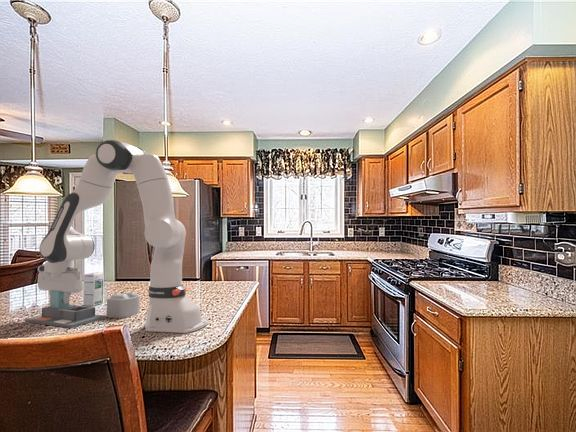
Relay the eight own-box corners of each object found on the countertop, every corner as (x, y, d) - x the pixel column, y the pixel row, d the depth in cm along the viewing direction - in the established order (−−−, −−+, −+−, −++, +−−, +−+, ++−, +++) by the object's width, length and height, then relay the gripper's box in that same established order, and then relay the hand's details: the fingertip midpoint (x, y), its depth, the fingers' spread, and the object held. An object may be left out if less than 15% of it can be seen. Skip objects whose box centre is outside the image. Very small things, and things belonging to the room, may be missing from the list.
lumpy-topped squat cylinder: (102, 316, 136) (103, 295, 137) (125, 309, 149) (125, 289, 149) (125, 318, 134) (125, 296, 134) (146, 310, 146) (146, 290, 147)
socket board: (105, 318, 134) (105, 306, 134) (71, 328, 120) (72, 315, 121) (61, 313, 142) (61, 302, 142) (25, 321, 128) (25, 309, 129)
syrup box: (93, 306, 155) (94, 274, 155) (82, 305, 156) (83, 273, 157) (103, 303, 160) (103, 272, 161) (92, 302, 162) (93, 272, 162)
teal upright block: (69, 309, 135) (69, 289, 135) (58, 312, 131) (58, 291, 131) (60, 309, 137) (61, 288, 137) (49, 311, 132) (50, 290, 133)
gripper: (87, 267, 134) (86, 302, 133) (50, 265, 141) (49, 299, 140) (72, 269, 128) (71, 306, 127) (34, 267, 135) (33, 302, 134)
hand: (59, 302), depth 134 cm, fingers closed on teal upright block, 4 cm apart
